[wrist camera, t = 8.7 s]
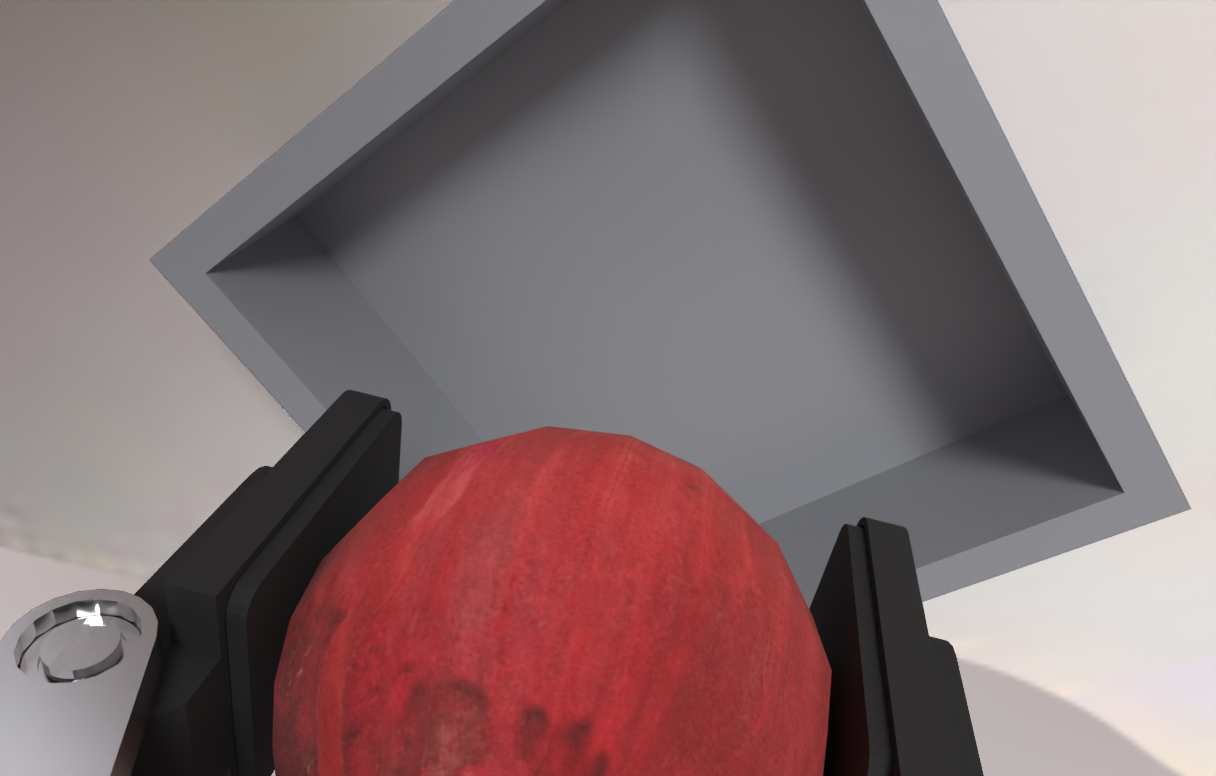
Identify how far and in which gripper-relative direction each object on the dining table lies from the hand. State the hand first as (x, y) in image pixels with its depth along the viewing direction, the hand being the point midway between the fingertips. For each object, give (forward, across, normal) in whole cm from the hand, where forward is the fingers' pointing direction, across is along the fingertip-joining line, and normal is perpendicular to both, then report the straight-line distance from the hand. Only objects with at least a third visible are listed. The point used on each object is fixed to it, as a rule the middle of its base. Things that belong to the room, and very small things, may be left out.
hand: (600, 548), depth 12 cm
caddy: (+9, 0, 0) cm, 9 cm away
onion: (+1, 0, 0) cm, 1 cm away
